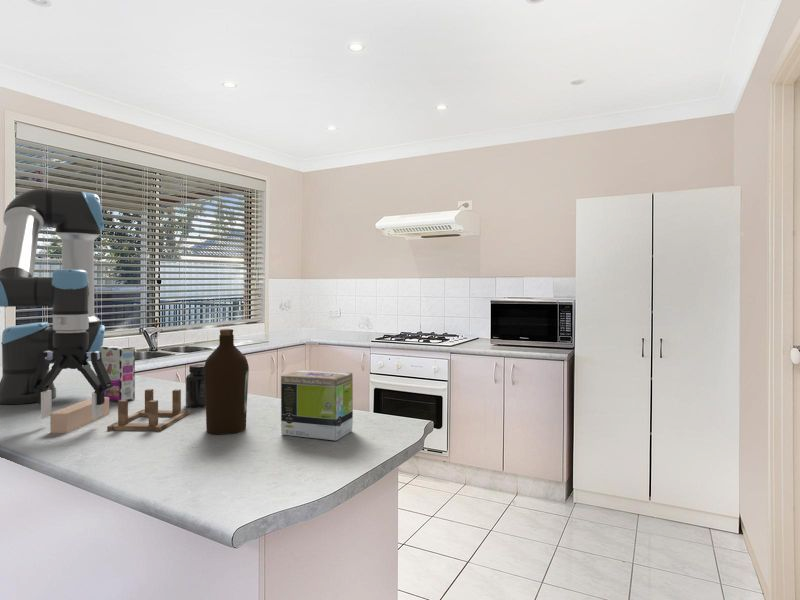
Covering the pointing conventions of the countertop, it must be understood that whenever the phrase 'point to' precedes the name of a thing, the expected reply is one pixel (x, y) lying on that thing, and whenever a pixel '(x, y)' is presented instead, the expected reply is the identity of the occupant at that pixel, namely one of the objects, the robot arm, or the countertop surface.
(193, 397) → the supplement bottle
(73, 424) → the clay strip
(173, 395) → the rack
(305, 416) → the tea box
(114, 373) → the candy bar box
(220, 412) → the olive oil
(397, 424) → the countertop surface
